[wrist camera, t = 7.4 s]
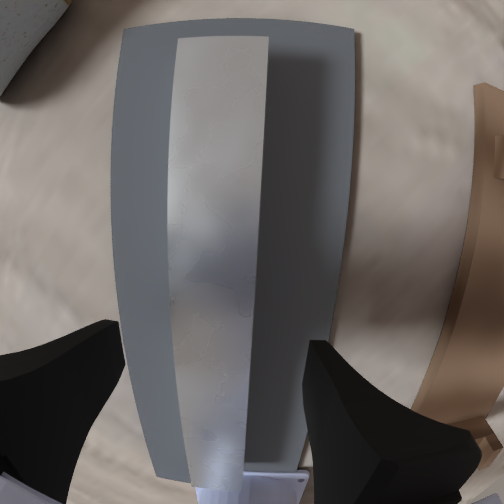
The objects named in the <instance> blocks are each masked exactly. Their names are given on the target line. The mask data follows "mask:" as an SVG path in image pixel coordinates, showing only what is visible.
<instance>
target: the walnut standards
mask: <svg viewBox="0 0 504 504" xmlns="http://www.w3.org/2000/svg"><path fill="white" fill-rule="evenodd" d="M474 105H475V146H474V166H473V179H472V190H471V199H470V207H469V215H468V221H467V228H466V234H465V240H464V245H463V250H462V255H461V260H460V265H459V269H458V274H457V278H456V282H455V286H454V290H453V294H452V298H451V301H450V305H449V308H448V312H447V315H446V319H445V322H444V325H443V328H442V331H441V334H440V337H439V340H438V343H437V346H436V349H435V352H434V354H433V357H432V360H431V363H430V365H429V368H428V370H427V373H426V375H425V378H424V380H423V383H422V385H421V387H420V390H419V392H418V394H417V397H416V399H415V401H414V403H413V405H412V408H411V410H413V411H415V412H417V413H419V414H421V415H423V416H425V417H428V418H431V419H433V420H436V421H438V422H441V423H444V424H447V425H451V426H455V427H458V428H462V429H466V430H469V431H470V433H471V434H472V436H473V437H474V439H475V441H476V442H477V444H478V446H479V448H480V449H481V451H482V458H481V461H480V463H479V465H478V469H479V470H480V469H483V468H485V467H488V466H489V465H490V464H491V463H492V462H493V460H494V459H495V458H496V456H497V455H498V454H499V453H500V451H501V450H502V449H503V446H502V444H501V443H500V441H499V440H498V438H497V437H496V435H495V433H494V432H493V430H492V429H491V427H490V426H489V424H488V423H487V421H486V420H485V418H486V417H487V415H488V413H489V412H490V410H491V408H492V407H493V405H494V403H495V401H496V399H497V398H498V396H499V394H500V392H501V390H502V388H503V386H504V91H502V90H500V89H498V88H496V87H494V86H492V85H489V84H487V83H481V84H478V85H474Z"/></svg>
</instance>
